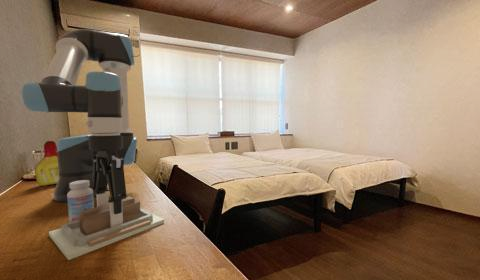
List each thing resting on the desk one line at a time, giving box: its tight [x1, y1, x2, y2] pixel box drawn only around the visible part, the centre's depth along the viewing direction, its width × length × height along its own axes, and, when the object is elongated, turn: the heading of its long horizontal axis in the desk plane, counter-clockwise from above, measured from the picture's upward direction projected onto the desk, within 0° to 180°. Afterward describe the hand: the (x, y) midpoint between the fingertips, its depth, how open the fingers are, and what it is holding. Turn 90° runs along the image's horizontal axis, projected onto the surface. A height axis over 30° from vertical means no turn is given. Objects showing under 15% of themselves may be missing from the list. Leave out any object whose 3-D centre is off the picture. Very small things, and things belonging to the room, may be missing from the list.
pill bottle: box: [67, 180, 95, 223], centre depth 63 cm, size 6×6×11 cm
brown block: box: [79, 195, 141, 236], centre depth 59 cm, size 5×13×6 cm, turn 142°
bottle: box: [34, 140, 59, 187], centre depth 102 cm, size 12×6×20 cm, turn 138°
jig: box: [48, 207, 165, 261], centre depth 59 cm, size 16×22×2 cm
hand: (109, 220), depth 59 cm, fingers open, 8 cm apart
